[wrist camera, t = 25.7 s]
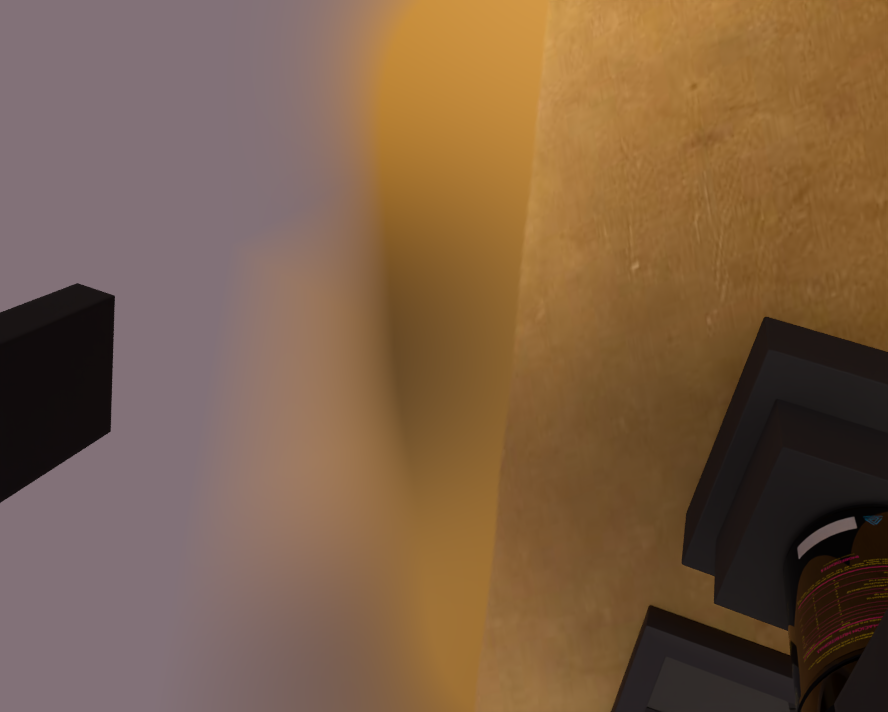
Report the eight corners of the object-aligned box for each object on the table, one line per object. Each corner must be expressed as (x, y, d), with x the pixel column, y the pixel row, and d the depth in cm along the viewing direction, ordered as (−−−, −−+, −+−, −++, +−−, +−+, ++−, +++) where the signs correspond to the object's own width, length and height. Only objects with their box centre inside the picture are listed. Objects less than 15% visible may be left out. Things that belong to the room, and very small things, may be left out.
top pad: (715, 541, 39) (713, 604, 35) (776, 397, 36) (782, 446, 32) (933, 619, 37) (960, 696, 33) (1019, 473, 34) (1062, 537, 29)
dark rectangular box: (685, 513, 45) (680, 564, 40) (764, 315, 40) (768, 348, 35) (914, 594, 42) (936, 658, 38) (1028, 392, 37) (1068, 438, 33)
